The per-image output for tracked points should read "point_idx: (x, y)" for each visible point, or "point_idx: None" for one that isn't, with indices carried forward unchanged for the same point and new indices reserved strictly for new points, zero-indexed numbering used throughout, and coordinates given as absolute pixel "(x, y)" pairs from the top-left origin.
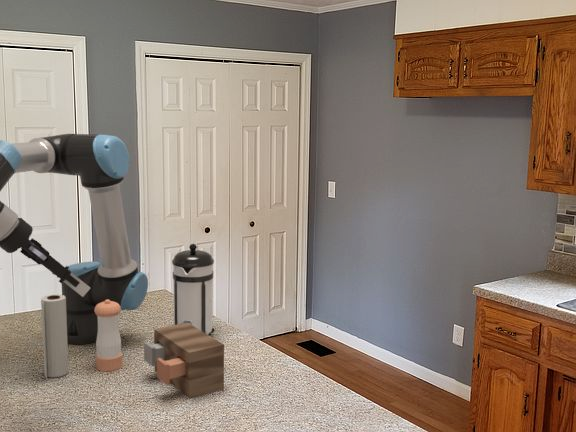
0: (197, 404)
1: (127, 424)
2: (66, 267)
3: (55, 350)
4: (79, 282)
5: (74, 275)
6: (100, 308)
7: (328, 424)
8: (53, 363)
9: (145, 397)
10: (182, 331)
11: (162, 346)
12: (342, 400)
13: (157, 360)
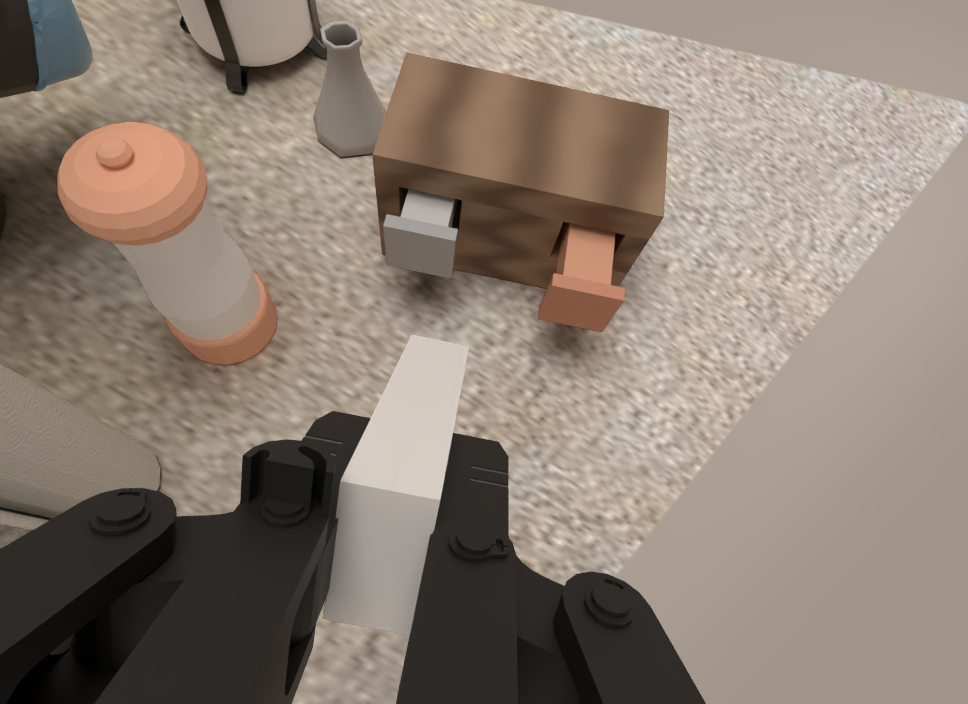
0: (652, 309)
1: (638, 516)
2: (296, 487)
3: (94, 484)
4: (500, 446)
5: (446, 456)
6: (134, 215)
7: (902, 191)
8: None
9: (519, 377)
10: (471, 112)
11: (443, 201)
12: (826, 101)
13: (555, 289)
